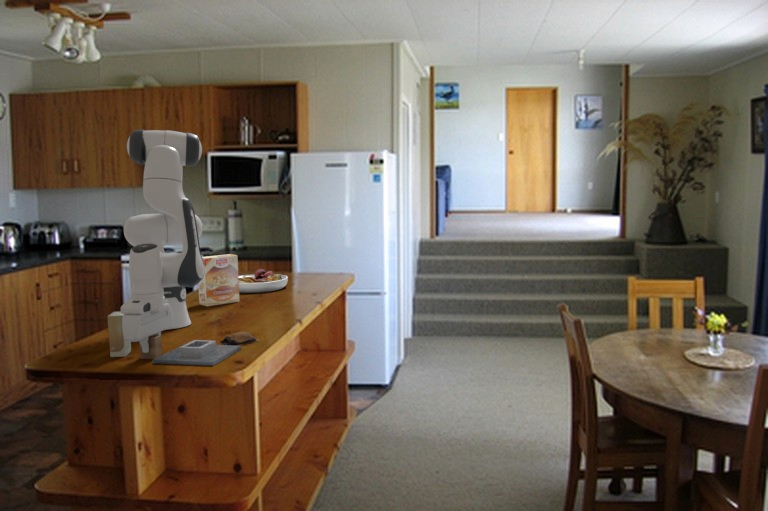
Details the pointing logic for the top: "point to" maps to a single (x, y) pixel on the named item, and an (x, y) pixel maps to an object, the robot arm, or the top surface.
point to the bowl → (261, 282)
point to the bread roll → (239, 339)
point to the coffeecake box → (219, 280)
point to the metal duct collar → (198, 353)
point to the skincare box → (117, 336)
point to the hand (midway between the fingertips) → (150, 350)
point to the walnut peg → (152, 348)
